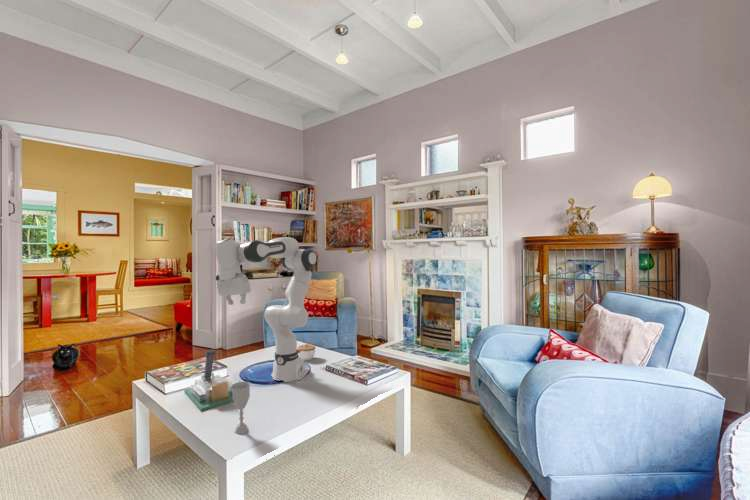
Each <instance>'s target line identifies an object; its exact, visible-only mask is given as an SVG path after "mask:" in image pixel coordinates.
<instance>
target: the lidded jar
mask: <svg viewBox="0 0 750 500" xmlns="http://www.w3.org/2000/svg"><path fill="white" fill-rule="evenodd" d="M297 349H300V350H301V352H300V353H298V355H299V357H300V358H302V359H303V360H304V361H305V362H306V361H312V359H313V358H314V357H315V355H316V345H314V344H308V343H305V344H302V345H299V346H298V347H297Z"/></svg>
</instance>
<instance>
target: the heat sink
mask: <svg viewBox="0 0 750 500" xmlns="http://www.w3.org/2000/svg"><path fill="white" fill-rule="evenodd" d="M200 377H201V378H200V379H197V380H194V384H191V385H190V388H191V392H192V393H193V394H194V396H195V397H196V398H197V399H198V400H199V401H203V400H204V401H205V402H208V401H211V394H210V385H214V384H218V383H222V382H225V381H226V382H228V395H230V392H233V389H232V388H231V386H232V385H233V384H234V383H232V382H231V381H229V380H228V379H227V378H225V377H224V376H222V377H221V376H220V375H219V374H217V375H215V373H214V372H213V371H212V374H211V378H207V379H204V374H201V375H200Z"/></svg>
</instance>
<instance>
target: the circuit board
mask: <svg viewBox="0 0 750 500" xmlns="http://www.w3.org/2000/svg"><path fill="white" fill-rule="evenodd" d="M191 388H192V387H189V388H187V389H184V390H183V391H184V394H185V395H186V396H187V397H188V398H189V399H190V401H191V402H192V403H193V404H194V405H195V406H196V408H198V410H199V411H200V412H203V411H206V410H209V409H213V408H216V407H220V406H222V405H226V404H230V403H234V401H233V392H230V395H228V398H227V399H223V400H220V401H216V402H213V403H212V402H211V401H208V402H205V401H204V400H203V401H199V400H198V399H197V398H196V397H195V396H194V394H193V393H192V392H191Z"/></svg>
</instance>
